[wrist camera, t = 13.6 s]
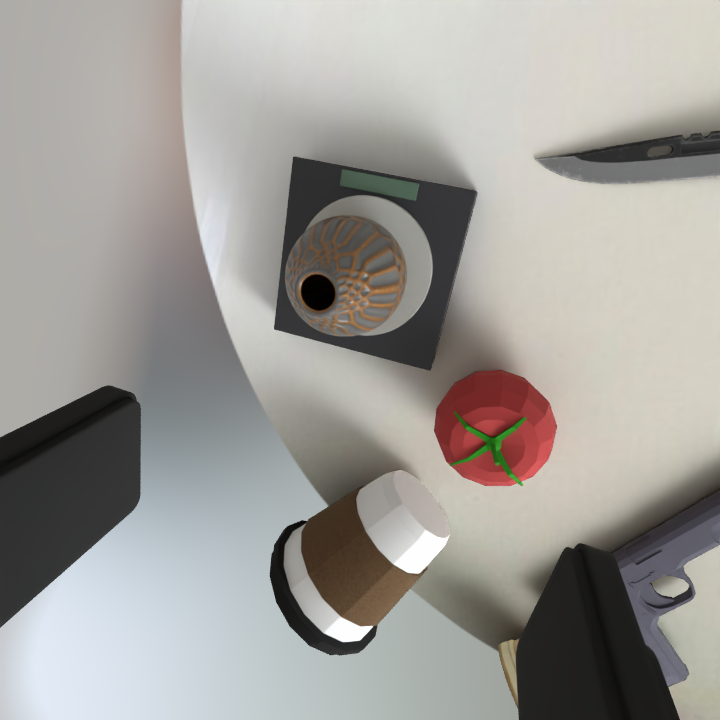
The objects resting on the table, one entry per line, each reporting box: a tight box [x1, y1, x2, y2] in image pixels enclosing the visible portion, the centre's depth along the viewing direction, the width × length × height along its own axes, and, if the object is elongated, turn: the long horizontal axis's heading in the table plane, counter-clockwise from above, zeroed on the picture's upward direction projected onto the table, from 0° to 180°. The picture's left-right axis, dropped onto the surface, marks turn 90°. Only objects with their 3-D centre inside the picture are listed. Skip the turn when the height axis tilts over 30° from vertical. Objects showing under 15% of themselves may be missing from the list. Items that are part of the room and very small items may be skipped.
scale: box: [274, 157, 477, 370], centre depth 31 cm, size 12×12×3 cm
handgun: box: [611, 490, 720, 687], centre depth 34 cm, size 18×2×12 cm
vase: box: [285, 215, 407, 336], centre depth 26 cm, size 7×7×9 cm
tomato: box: [434, 370, 557, 486], centre depth 30 cm, size 8×8×8 cm
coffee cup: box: [270, 470, 450, 655], centre depth 35 cm, size 11×11×12 cm
